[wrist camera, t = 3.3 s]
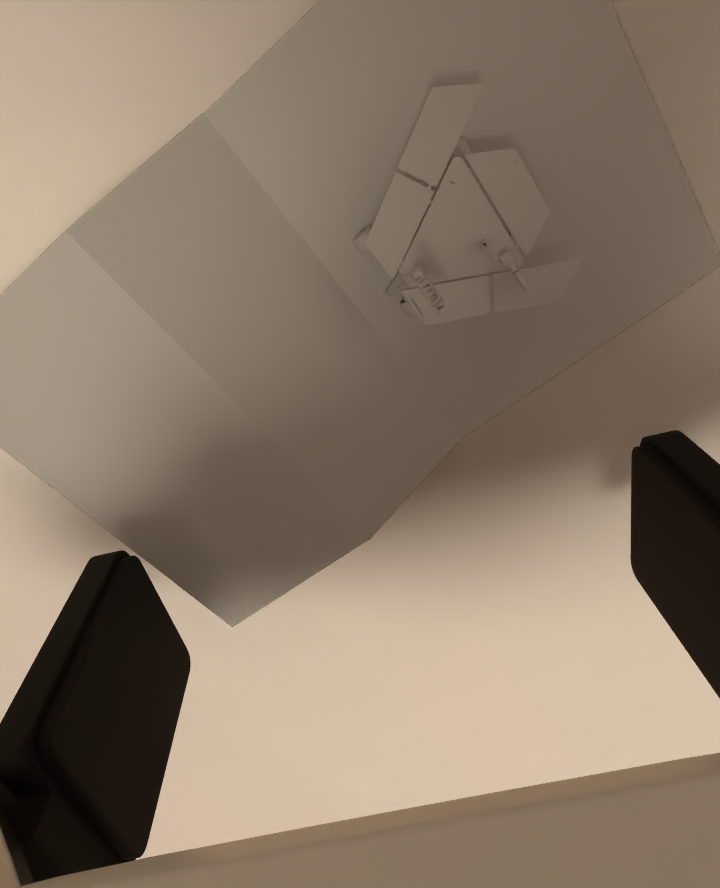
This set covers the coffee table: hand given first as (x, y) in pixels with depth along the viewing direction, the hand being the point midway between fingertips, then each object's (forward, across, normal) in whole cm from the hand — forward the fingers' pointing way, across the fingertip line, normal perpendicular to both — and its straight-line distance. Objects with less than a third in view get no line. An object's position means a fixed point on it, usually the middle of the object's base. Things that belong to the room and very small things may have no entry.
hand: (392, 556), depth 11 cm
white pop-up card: (+2, 0, -4) cm, 5 cm away
